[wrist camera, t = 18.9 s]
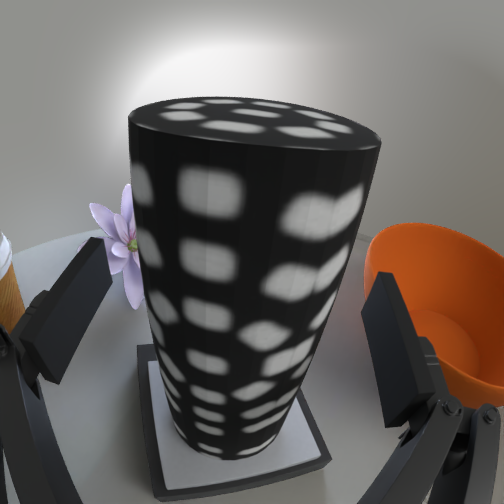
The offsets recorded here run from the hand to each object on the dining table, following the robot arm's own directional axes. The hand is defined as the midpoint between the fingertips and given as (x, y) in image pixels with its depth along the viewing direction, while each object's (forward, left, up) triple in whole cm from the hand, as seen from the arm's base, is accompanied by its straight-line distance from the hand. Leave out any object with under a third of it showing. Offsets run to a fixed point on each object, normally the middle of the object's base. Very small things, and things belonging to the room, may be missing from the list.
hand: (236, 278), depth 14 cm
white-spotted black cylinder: (+1, 0, -13) cm, 13 cm away
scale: (0, 0, -16) cm, 16 cm away
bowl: (0, +25, -16) cm, 30 cm away
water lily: (-19, -6, -16) cm, 26 cm away
